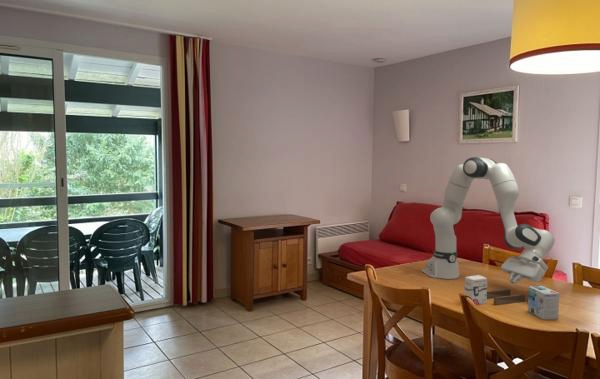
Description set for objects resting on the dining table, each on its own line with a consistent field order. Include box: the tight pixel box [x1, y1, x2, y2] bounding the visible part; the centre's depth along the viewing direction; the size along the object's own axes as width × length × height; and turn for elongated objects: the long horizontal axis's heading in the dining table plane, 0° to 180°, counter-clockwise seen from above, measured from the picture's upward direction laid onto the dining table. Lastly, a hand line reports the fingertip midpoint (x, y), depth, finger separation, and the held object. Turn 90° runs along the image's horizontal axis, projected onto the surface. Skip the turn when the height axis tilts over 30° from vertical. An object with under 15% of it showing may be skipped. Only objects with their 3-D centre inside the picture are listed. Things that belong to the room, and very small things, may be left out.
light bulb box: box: [527, 285, 560, 321], centre depth 176 cm, size 11×7×11 cm, turn 5°
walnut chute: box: [487, 288, 526, 306], centre depth 195 cm, size 10×16×3 cm, turn 108°
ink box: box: [464, 274, 488, 306], centre depth 191 cm, size 8×5×12 cm, turn 111°
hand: (512, 282), depth 197 cm, fingers closed
